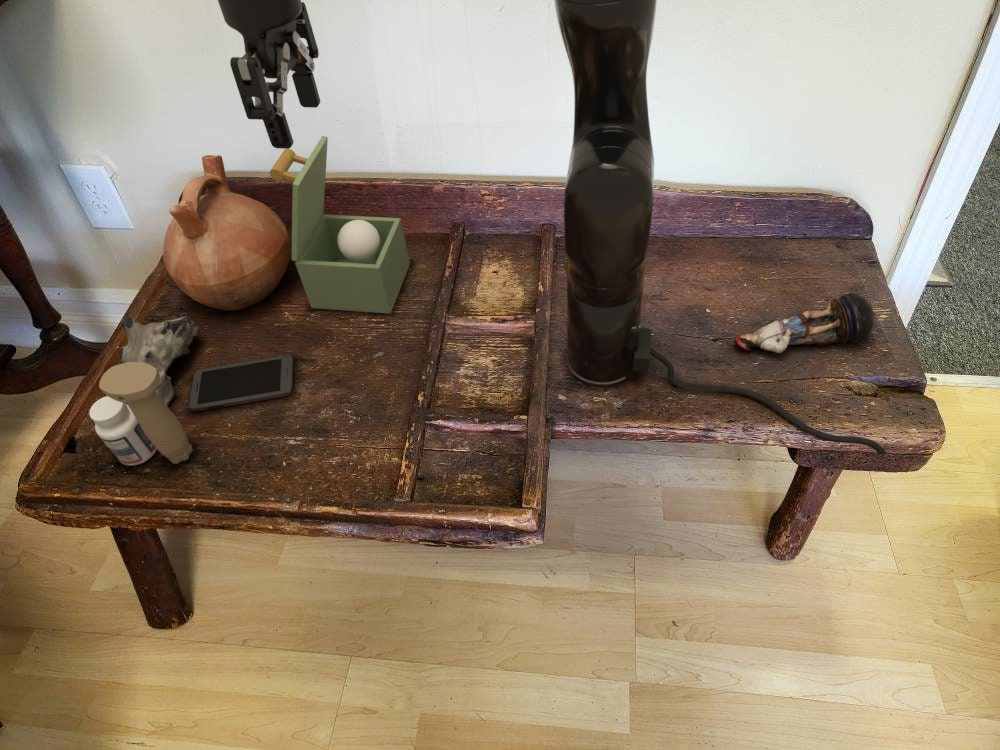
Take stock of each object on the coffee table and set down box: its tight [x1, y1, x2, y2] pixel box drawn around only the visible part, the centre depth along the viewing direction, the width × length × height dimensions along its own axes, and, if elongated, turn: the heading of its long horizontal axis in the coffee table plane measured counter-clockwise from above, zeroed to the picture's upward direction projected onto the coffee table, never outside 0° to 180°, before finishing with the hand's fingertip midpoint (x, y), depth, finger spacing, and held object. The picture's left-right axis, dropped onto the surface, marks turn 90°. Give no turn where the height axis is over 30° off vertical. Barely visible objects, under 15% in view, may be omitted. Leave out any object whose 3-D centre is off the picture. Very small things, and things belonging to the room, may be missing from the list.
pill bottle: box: [88, 395, 158, 467], centre depth 92 cm, size 5×5×9 cm
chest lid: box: [269, 135, 329, 262], centre depth 102 cm, size 14×12×5 cm
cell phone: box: [188, 354, 294, 413], centre depth 101 cm, size 7×14×1 cm, turn 99°
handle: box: [98, 362, 194, 465], centre depth 88 cm, size 5×6×15 cm
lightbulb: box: [338, 220, 380, 265], centre depth 109 cm, size 6×6×11 cm
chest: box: [294, 213, 411, 314], centre depth 110 cm, size 13×12×9 cm
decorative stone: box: [118, 312, 200, 408], centre depth 101 cm, size 16×9×10 cm, turn 178°
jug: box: [162, 154, 291, 312], centre depth 108 cm, size 18×18×20 cm
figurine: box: [734, 292, 875, 354], centre depth 98 cm, size 8×7×18 cm
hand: (298, 125), depth 80 cm, fingers open, 8 cm apart
